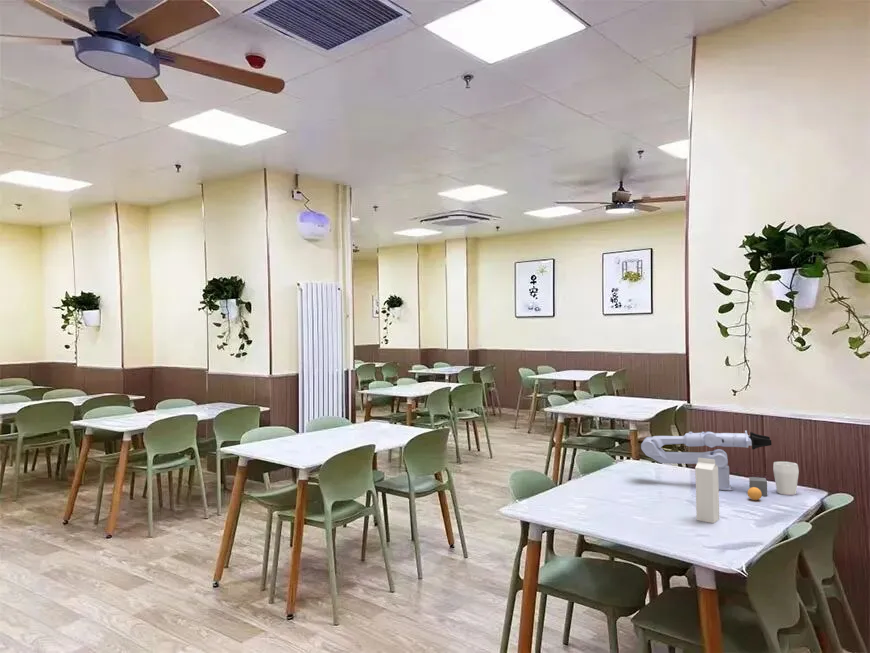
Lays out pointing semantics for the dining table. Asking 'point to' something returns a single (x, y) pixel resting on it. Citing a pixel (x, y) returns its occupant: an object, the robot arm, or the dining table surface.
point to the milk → (707, 490)
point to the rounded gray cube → (759, 484)
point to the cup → (786, 477)
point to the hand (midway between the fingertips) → (770, 441)
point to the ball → (754, 493)
